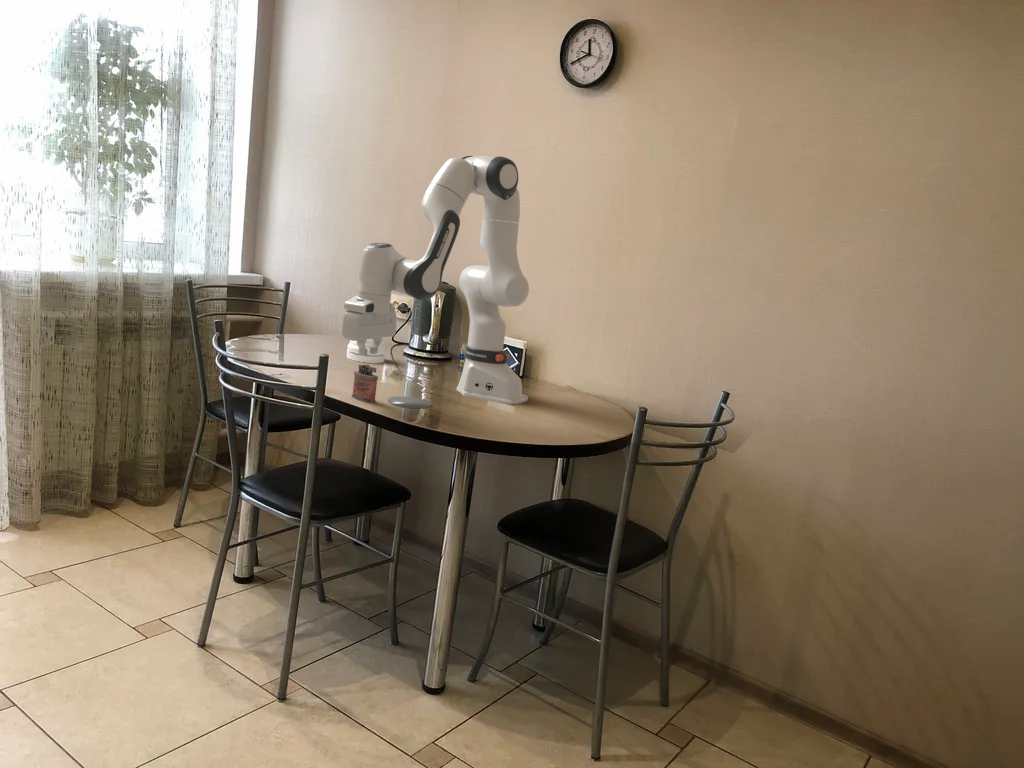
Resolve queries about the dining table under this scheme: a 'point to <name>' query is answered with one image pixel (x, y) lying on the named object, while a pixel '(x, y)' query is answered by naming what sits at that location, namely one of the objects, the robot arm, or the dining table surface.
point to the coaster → (409, 402)
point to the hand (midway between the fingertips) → (368, 354)
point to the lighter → (365, 384)
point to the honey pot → (369, 358)
